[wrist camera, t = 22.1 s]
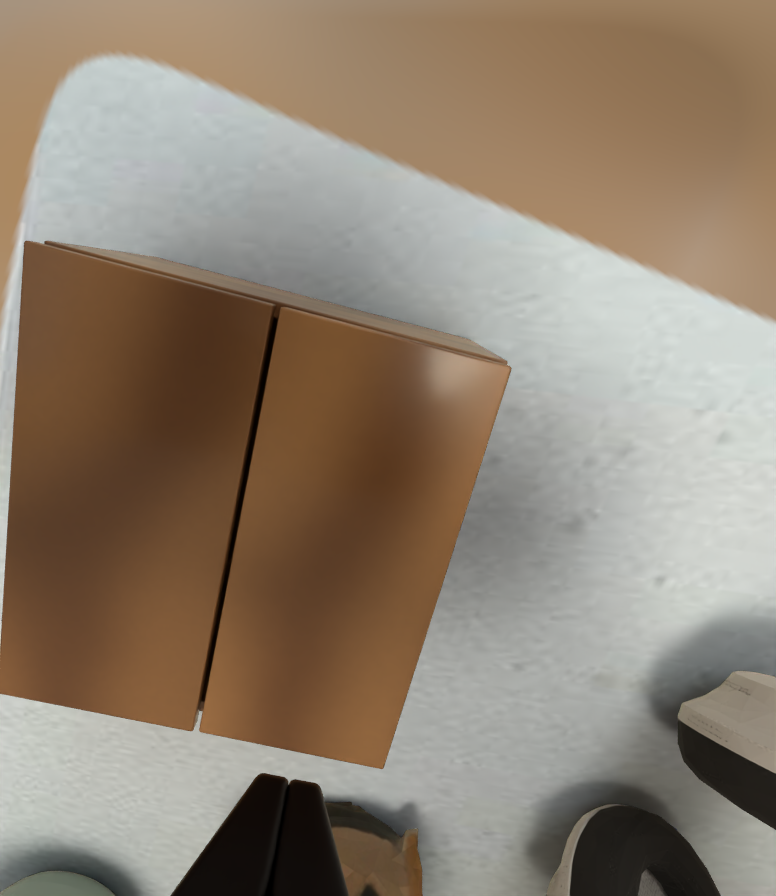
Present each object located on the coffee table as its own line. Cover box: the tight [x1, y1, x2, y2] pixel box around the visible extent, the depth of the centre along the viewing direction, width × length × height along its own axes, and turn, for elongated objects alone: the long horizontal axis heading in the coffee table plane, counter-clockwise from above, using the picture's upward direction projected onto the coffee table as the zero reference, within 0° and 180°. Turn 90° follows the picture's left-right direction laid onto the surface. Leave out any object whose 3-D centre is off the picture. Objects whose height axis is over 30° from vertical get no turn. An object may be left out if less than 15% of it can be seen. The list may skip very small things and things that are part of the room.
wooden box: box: [0, 241, 507, 731], centre depth 16 cm, size 11×12×7 cm
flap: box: [199, 307, 511, 769], centre depth 13 cm, size 5×12×1 cm, turn 166°
